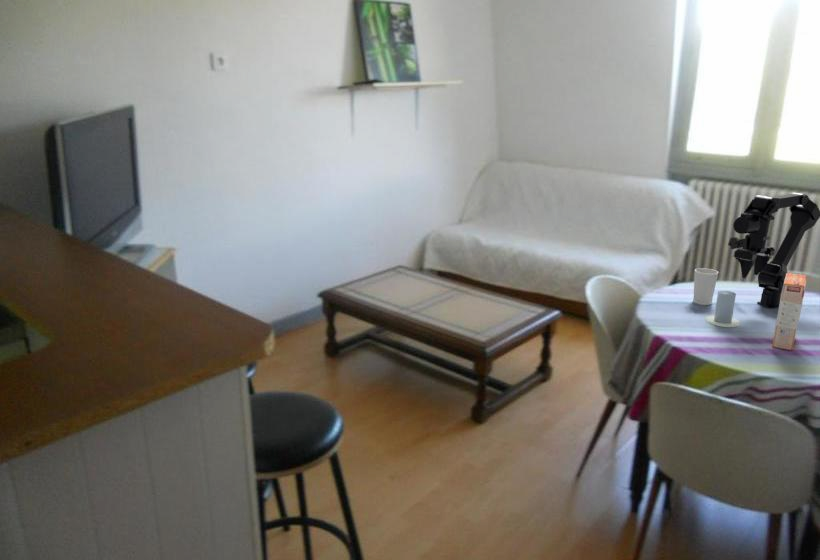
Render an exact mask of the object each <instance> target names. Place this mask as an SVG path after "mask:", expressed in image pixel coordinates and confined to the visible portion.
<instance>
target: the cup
mask: <svg viewBox="0 0 820 560" xmlns="http://www.w3.org/2000/svg"><path fill="white" fill-rule="evenodd" d="M718 276H719V271H718V270H716V269H712V268H704V267H701V268H695V269H694V280H693V281H694V282H693V300H692V302H693V303H695V304H696V305H701V306H708V305H712V304H713V303H712V302H713V297H714V293H715V289H716V285H717V280H718Z"/></svg>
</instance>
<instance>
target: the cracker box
mask: <svg viewBox="0 0 820 560" xmlns="http://www.w3.org/2000/svg"><path fill="white" fill-rule="evenodd" d="M806 285H807V275H805V274H799V273H790V272H787V273H786V277H785V280H784V284H783V289H782V294H781V299H780V304H779V307H778V310H777V317H776V322H775V328H774V333H773V338H772V339H773V340H772V348H777V349H781V350H785V351H791V352H792V351H793V349H794V344H795V341H796V336H797V331H798V328H799V323H800V322H799V321H800V317H801V312H802V307H803V302H804V297H805V293H806V292H805V291H806Z"/></svg>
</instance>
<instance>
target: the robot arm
mask: <svg viewBox="0 0 820 560" xmlns="http://www.w3.org/2000/svg"><path fill="white" fill-rule="evenodd" d="M785 208H788V210H789V212H790V213H791V215H790V217H789V219H790V226H789V229H788V231H787V233H786V234H785V236H784V238H783V240H782V242H781V244H780V245H779V248H778V250H777V251H776V250H775V248H774V247H773V246H768V245H767V241H768V240H770V236H768V235H769V230H770V225H771V221H773V220H775V216H774V214H775V213H777V212H779V210H780V209H785ZM819 220H820V208H819V206H818V205H817V203H815V202H814V201H812V200H811V199H810V197H809V195H807V194H805V193H801V192H791V193H787V194H782V195H781V194H780V195H775V196H774V195H773V196H769V195H761V194H760V195H759V194H757V195H755V196H754V197H753V199H752V200H751V201H750V202H749V204H748V205H747V207H746V209H744V211H743V212H741V213H740V216H739V217H737V218H736V219H735V220H734V222H733V225H732V226H733V229H734V231H735V233H737V234H740V235H742V234H743V235H744V234H746V235H745V236H744V238H738V236H735V237H730V238H729V241H728V243H727V246H729V247H730V250H734V252H733V256H732V257H733V258H735V260H737V261H738V262H739V265H740V271H741V277H742V278H743V279H746V278H747V277H748V275H749V273H750V272H751V270H752V268H753V274H754V275H755V276H757V281H758V288H761V289H762V292H761V296H760V301H757V302H756V303H757V304H759V305H761V306H764V307H766V308H769V309H777V308H778V309H779V304H780V299H781V294H782V289H783V284H784V280H785V277H786V273H788V269H787V267H788V265H789V263H790V261H791V259H792V257H793V255H794V254H795V252H796V250H797V248H798V246H799V244H800V242H801V240H802V239H803V236H804V235H805V233H806V231H808V230H809V229H812V228H813V227H814V226H815V225H816V223H817V222H818V221H819ZM775 252H776V253H775ZM773 256H774V257H773ZM772 257H773V259H772ZM771 259H772V261H770V260H771Z"/></svg>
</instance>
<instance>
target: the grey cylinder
mask: <svg viewBox="0 0 820 560" xmlns="http://www.w3.org/2000/svg"><path fill="white" fill-rule="evenodd" d="M736 295H737V294H736V292H734V291H730V290H718V291H717V297H716V303H715V310H714V315H713V316H714V321H716V322H718V323H722V324H730V323H732V318H733V316H734V310H735V304H736V303H735V302H736V298H737V297H736Z"/></svg>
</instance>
